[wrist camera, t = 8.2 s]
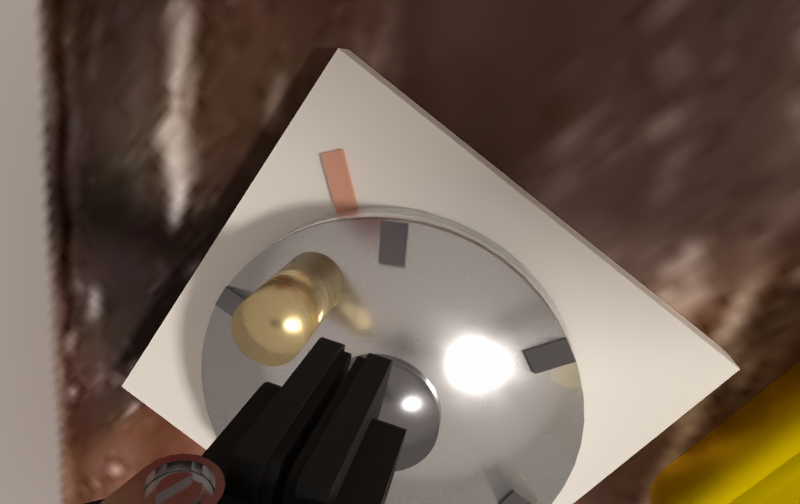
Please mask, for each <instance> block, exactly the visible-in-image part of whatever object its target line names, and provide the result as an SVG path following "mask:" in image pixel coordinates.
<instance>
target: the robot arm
mask: <svg viewBox="0 0 800 504" xmlns="http://www.w3.org/2000/svg"><path fill="white" fill-rule="evenodd" d="M351 356H352V354H351V353H348V352H345V344H342V343H339V342H336V341H333V340H330V339H327V338H324V337H320V338H319V340H318V341H317V342H316V343H315V345H314V346H313V347H312V349H311V350H310V351H309V352H308V354H307V355H306V356H305V358H304V359H303V360H302V361H301V363H300V364H299V365H298V367H297V368H296V369H295V370H294V372H293V373H292V374H291V376H290V377H289V378H288V379H287V381H286V382H285V383H284V385H283V386H279V385H276V384H273V383H270V382H264V383H263V384H262V385H261V386H260V387H259V389H258V390H257V391H256V392H255V393H254V394H253V396H252V397H251V398H250V399H249V400H248V402H247V403H246V404H245V405H244V406H243V407H242V409H241V410H240V411H239V412H238V413H237V415H236V416H235V417H234V418H233V419H232V420H231V422H230V423H229V424H228V425H227V426H226V428H225V429H224V430H223V431H222V432H221V434H220V435H219V436H218V437H217V438H216V439H215V441H214V442H213V443H212V444H211V445H210V447H209V448H208V449H207V450H206V451H205V452H204V454H203V455H202V456H199V455H192V454H177V455H170V456H167V457H164V458H161V459H158V460H156V461H154V462H153V463H151V464H149V465H148V466H146V467H145V468H144V469H142V470H141V471H140V472H139V473H137V474H136V475H135V476H134V477H132V478H131V479H130V480H128V481H127V482H126V483H125V484H123V485H122V486H121V487H120V488H118V489H117V490H116V491H115V492H113V493H112V494H111V495H110V496H108V497H107V498H106V499H102V500H98V501H94V502H90V503H85V504H385V501H386V498H387V495H388V492H389V489H390V486H391V483H392V479H393V476H394V473H395V470H396V466H397V463H398V460H399V456H400V453H401V449H402V446H403V442H404V439H405V435H406V431H407V429H404V428H401V427H398V426H395V425H392V424H390V423H387V422H384V421H381V420H378V418H379V414H380V410H381V406H382V402H383V399H384V395H385V391H386V387H387V383H388V379H389V376H390V372H391V368H392V363H393V360H391V359H388V358H385V357H381V356H378V355H375V354H372V353H369V354H368V355H367V357H366V358H363V357H360V356H358V357H357V358H356V360H355V362H354V363H353V365H352V367H351V368H350V370H349V366H350V362H351ZM348 371H349V372H348Z"/></svg>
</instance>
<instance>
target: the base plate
mask: <svg viewBox="0 0 800 504" xmlns="http://www.w3.org/2000/svg"><path fill="white" fill-rule="evenodd" d="M374 207H387V208H404V209H410V210H415V211H421V212H426V213H431V214H434V215H437V216H440V217H443V218H447V219H450V220H453V221H456V222H458V223H460V224H462V225H464V226H467V227H469V228H471V229H473V230H475V231H477V232H479V233H481V234H483V235H484V236H486V237H487V238H489V239H491V240H492V241H494V242H495V243H497V244H498V245H500V246H502V247H503V248H504V249H505V250H507V251H508V252H509V253H510V254H511V255H513V256H514V257H515V258H516V259H517V260H519V261H520V262H521V263H522V264H523V265H524V266H525V267H526V268H527V269H528V270H529V271H530V272H531V273H532V274H533V276H534V277H535V278H536V279H537V280H538V281H539V282H540V283H541V285H542V286H543V287H544V289H545V290H546V292H547V293H548V295H549V296H550V297H551V299H552V300H553V302H554V303H555V305H556V307H557V309H558V311H559V313H560V315H561V317H562V319H563V321H564V323H565V325H566V327H567V330H568V333H569V336H570V339H571V342H572V345H573V348H574V352H575V356H576V361H577V365H578V369H579V374H580V379H581V385H582V390H583V396H584V427H583V434H582V442H581V446H580V450H579V453H578V456H577V459H576V463H575V466H574V468H573V470H572V472H571V474H570V476H569V478H568V480H567V482H566V484H565V486H564V487H563V489H562V490H561V492H560V493H559V494H558V496H557V497H556V499H555V500H554V502H553V503H552V504H573V503H574V502H576V501H577V500H578V499H579V498H581V497H582V496H583V495H584V494H586V493H587V492H588V491H589V490H591V489H592V488H593V487H594V486H596V485H597V484H598V483H599V482H601V481H602V480H603V479H604V478H606V477H607V476H608V475H609V474H610V473H612V472H613V471H614V470H615V469H617V468H618V467H619V466H620V465H622V464H623V463H624V462H625V461H627V460H628V459H629V458H630V457H632V456H633V455H634V454H635V453H637V452H638V451H639V450H640V449H642V448H643V447H644V446H645V445H647V444H648V443H649V442H650V441H652V440H653V439H654V438H655V437H657V436H658V435H659V434H660V433H662V432H663V431H664V430H665V429H666V428H668V427H669V426H670V425H671V424H673V423H674V422H675V421H676V420H678V419H679V418H680V417H681V416H683V415H684V414H685V413H686V412H688V411H689V410H690V409H691V408H693V407H694V406H695V405H696V404H698V403H699V402H700V401H701V400H703V399H704V398H705V397H706V396H708V395H709V394H710V393H711V392H713V391H714V390H715V389H716V388H718V387H719V386H720V385H721V384H722V383H724V382H725V381H726V380H727V379H729V378H730V377H731V376H732V375H734V374H735V373H736V372H737V371H739V370H740V368H739V367H738V366H737V365H736V363H735V362H734V361H733V359H732V358H731V357H730V356H729V354H728V353H727V352H726V351H725V350H724V349H723V348H722V347H720V346H719V345H718V344H717V343H715V342H714V341H713V340H712V339H710V338H709V337H708V336H707V335H705V334H704V333H703V332H702V331H700V330H699V329H698V328H697V327H695V326H694V325H693V324H692V323H690V322H689V321H688V320H687V319H685V318H684V317H683V316H682V315H680V314H679V313H678V312H677V311H675V310H674V309H673V308H672V307H670V306H669V305H668V304H666V303H665V302H664V301H663V300H661V299H660V298H659V297H658V296H656V295H655V294H654V293H653V292H651V291H650V290H649V289H648V288H646V287H645V286H644V285H643V284H641V283H640V282H639V281H638V280H636V279H635V278H634V277H633V276H631V275H630V274H629V273H628V272H626V271H625V270H624V269H623V268H621V267H620V266H619V265H618V264H616V263H615V262H614V261H613V260H611V259H610V258H609V257H608V256H606V255H605V254H604V253H603V252H601V251H600V250H599V249H598V248H596V247H595V246H594V245H593V244H591V243H590V242H589V241H588V240H586V239H585V238H584V237H583V236H581V235H580V234H579V233H578V232H576V231H575V230H574V229H573V228H571V227H570V226H569V225H568V224H566V223H565V222H564V221H563V220H561V219H560V218H559V217H558V216H556V215H555V214H554V213H553V212H551V211H550V210H549V209H548V208H546V207H545V206H544V205H543V204H541V203H540V202H539V201H538V200H536V199H535V198H534V197H533V196H531V195H530V194H529V193H528V192H526V191H525V190H524V189H523V188H521V187H520V186H519V185H518V184H516V183H515V182H514V181H513V180H511V179H510V178H509V177H508V176H506V175H505V174H504V173H503V172H501V171H500V170H499V169H498V168H496V167H495V166H494V165H493V164H491V163H490V162H489V161H488V160H486V159H485V158H484V157H483V156H481V155H480V154H479V153H478V152H476V151H475V150H474V149H473V148H471V147H470V146H469V145H468V144H466V143H465V142H464V141H463V140H461V139H460V138H459V137H458V136H456V135H455V134H454V133H453V132H451V131H450V130H449V129H448V128H446V127H445V126H444V125H443V124H441V123H440V122H439V121H438V120H436V119H435V118H434V117H433V116H431V115H430V114H429V113H428V112H426V111H425V110H424V109H423V108H421V107H420V106H419V105H418V104H416V103H415V102H414V101H413V100H411V99H410V98H409V97H408V96H406V95H405V94H404V93H403V92H401V91H400V90H399V89H398V88H396V87H395V86H394V85H393V84H391V83H390V82H389V81H388V80H386V79H385V78H384V77H383V76H381V75H380V74H379V73H378V72H376V71H375V70H374V69H373V68H371V67H370V66H369V65H368V64H366V63H365V62H364V61H363V60H361V59H360V58H359V57H358V56H356V55H355V54H354V53H353V52H351V51H350V50H348V49H341V48H338V49H337V51H336V52H335V54H334V55H333V57H332V58H331V60H330V61H329V63H328V65H327V66H326V68H325V69H324V71H323V72H322V74H321V76H320V77H319V79H318V80H317V82H316V83H315V85H314V86H313V88H312V90H311V91H310V93H309V94H308V96H307V97H306V99H305V101H304V102H303V104H302V105H301V107H300V108H299V110H298V112H297V113H296V115H295V116H294V118H293V119H292V121H291V122H290V124H289V126H288V127H287V129H286V130H285V132H284V133H283V135H282V137H281V138H280V140H279V141H278V143H277V144H276V146H275V147H274V149H273V151H272V152H271V154H270V155H269V157H268V158H267V160H266V162H265V163H264V165H263V166H262V168H261V169H260V171H259V173H258V174H257V176H256V177H255V179H254V180H253V182H252V183H251V185H250V187H249V188H248V190H247V191H246V193H245V194H244V196H243V198H242V199H241V201H240V202H239V204H238V205H237V207H236V209H235V210H234V212H233V213H232V215H231V216H230V218H229V219H228V221H227V223H226V224H225V226H224V227H223V229H222V230H221V232H220V234H219V235H218V237H217V238H216V240H215V241H214V243H213V244H212V246H211V248H210V249H209V251H208V252H207V254H206V255H205V257H204V259H203V260H202V262H201V263H200V265H199V266H198V268H197V270H196V271H195V273H194V274H193V276H192V277H191V279H190V280H189V282H188V284H187V285H186V287H185V288H184V290H183V291H182V293H181V295H180V296H179V298H178V299H177V301H176V302H175V304H174V305H173V307H172V309H171V310H170V312H169V313H168V315H167V316H166V318H165V320H164V321H163V323H162V324H161V326H160V327H159V329H158V331H157V332H156V334H155V335H154V337H153V338H152V340H151V341H150V343H149V345H148V346H147V348H146V349H145V351H144V352H143V354H142V356H141V357H140V359H139V360H138V362H137V363H136V365H135V366H134V368H133V370H132V371H131V373H130V374H129V376H128V377H127V379H126V381H125V382H124V384H123V385H122V387H123V388H124V389H126V390H127V391H128V392H130V393H131V394H132V395H134V396H135V397H136V398H138V399H139V400H140V401H142V402H143V403H144V404H146V405H147V406H148V407H150V408H151V409H152V410H154V411H155V412H156V413H158V414H159V415H160V416H162V417H163V418H164V419H166V420H167V421H168V422H170V423H171V424H172V425H174V426H175V427H176V428H178V429H179V430H181V431H182V432H183V433H185V434H186V435H187V436H189V437H190V438H191V439H193V440H194V441H195V442H197V443H198V444H199V445H201V446H202V447H203V448H205V449H206V450H207V449H208V448H209V447H210V445H211V444H212V443H213V442H214V441H215V439H216V438H217V437H216V435H215V432H214V430H213V427H212V425H211V422H210V419H209V417H208V413H207V409H206V405H205V401H204V397H203V388H202V379H201V359H202V349H203V343H204V338H205V333H206V330H207V327H208V324H209V321H210V318H211V314H212V312H213V310H214V308H215V306H216V305H215V303H216V302H217V300H218V299H219V297H220V295H221V294H222V292H223V290H224V289H225V287H226V286H228V285H229V284H230V282H231V281H232V279H233V278H234V277H235V276H236V275H237V274H238V273H239V272H240V271H241V270H242V269H243V268H244V267H245V266H246V265H247V264H248V263H249V262H250V261H251V260H252V259H253V258H255V257H256V256H257V255H259V254H260V253H261V252H263V251H264V250H265V249H267V248H268V247H269V246H271V245H272V244H274V243H275V242H276V241H278V240H279V239H280V238H282V237H283V236H285V235H286V234H287V233H289V232H291V231H293V230H294V229H296V228H298V227H300V226H302V225H304V224H306V223H308V222H310V221H313V220H315V219H318V218H321V217H324V216H326V215H329V214H333V213H338V212H342V211H347V210H352V209H360V208H374Z"/></svg>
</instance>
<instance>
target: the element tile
mask: <svg viewBox="0 0 800 504" xmlns="http://www.w3.org/2000/svg"><path fill="white" fill-rule="evenodd" d="M649 504H800V361H799V362H798V363H796V364H795V365H794V366H793V367H791V368H790V369H789V370H788V371H786V372H785V373H784V374H783V375H781V376H780V377H779V378H778V379H776V380H775V381H774V382H773V383H771V384H770V385H769V386H768V387H766V388H765V389H764V390H763V391H761V392H760V393H759V394H758V395H756V396H755V397H754V398H753V399H751V400H750V401H749V402H748V403H746V404H745V405H744V406H743V407H741V408H740V409H739V410H738V411H736V412H735V413H734V414H733V415H731V416H730V417H729V418H728V419H726V420H725V421H724V422H723V423H721V424H720V425H719V426H718V427H716V428H715V429H714V430H713V431H711V432H710V433H709V434H708V435H706V436H705V437H704V438H703V439H701V440H700V441H699V442H698V443H696V444H695V445H694V446H693V447H691V448H690V449H689V450H688V451H686V452H685V453H684V454H683V455H681V456H680V457H679V458H678V459H676V460H675V461H674V462H673V463H671V464H670V465H669V466H668V467H666V468H665V469H664V470H663V471H662V472H661V473H660V474H659V475H658V476H657V477H656V479H655V480H654V482H653V484H652V486H651V488H650V490H649Z"/></svg>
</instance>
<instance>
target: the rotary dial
mask: <svg viewBox="0 0 800 504" xmlns="http://www.w3.org/2000/svg"><path fill="white" fill-rule="evenodd" d="M215 305H216V306H215V308H214V310H213V312H212V314H211V318H210V321H209V324H208V327H207V330H206V333H205V338H204V343H203V349H202V359H201V379H202V388H203V397H204V401H205V405H206V409H207V413H208V417H209V419H210V422H211V425H212V427H213V430H214V432H215V435H216V437H218V436H219V435H220V434H221V432H222V431H223V430H224V429H225V428H226V426H227V425H228V424H229V423H230V422H231V420H232V419H233V418H234V417H235V416H236V415H237V413H238V412H239V411H240V410H241V409H242V407H243V406H244V405H245V404H246V403H247V402H248V400H249V399H250V398H251V397H252V396H253V394H254V393H255V392H256V391H257V390H258V389H259V387H260V386H261V385H262V384H263V383H264V382H270V383H273V384H276V385H279V386H283V385H284V383H285V382H286V381H287V379H288V378H289V377H290V376H291V374H292V373H293V372H294V370H295V369H296V368H297V367H298V365H299V364H300V363H301V361H302V360H303V359H304V358H305V356H306V355H307V354H308V352H309V351H310V350H311V349H312V347H313V346H314V345H315V343H316V342H317V341H318V340H319V338H320V337H324V338H327V339H330V340H333V341H336V342H339V343H342V344H345V352H348V353H351V354H352V356H351V362H350V366H349V370H350V368H351V367H352V365H353V363H354V362H355V360H356V358H357V357H358V356H360V357H363V358H366V357H367V355H368V354H369V353H372V354H375V355H378V356H381V357H385V358H388V359H391V360H393V363H392V368H391V372H390V376H389V379H388V383H387V387H386V391H385V395H384V399H383V402H382V406H381V410H380V414H379V418H378V420H381V421H384V422H387V423H390V424H392V425H395V426H398V427H401V428H404V429H407V431H406V435H405V439H404V442H403V446H402V449H401V453H400V456H399V460H398V463H397V466H396V470H395V473H394V476H393V479H392V483H391V486H390V489H389V492H388V495H387V498H386V501H385V504H552V503H553V502H554V500H555V499H556V497H557V496H558V494H559V493H560V492H561V490H562V489H563V487H564V486H565V484H566V482H567V480H568V478H569V476H570V474H571V472H572V470H573V468H574V466H575V463H576V459H577V456H578V453H579V450H580V446H581V442H582V434H583V427H584V396H583V390H582V385H581V379H580V374H579V369H578V365H577V361H576V356H575V352H574V348H573V345H572V342H571V339H570V336H569V333H568V330H567V327H566V325H565V323H564V321H563V319H562V317H561V315H560V313H559V311H558V309H557V307H556V305H555V303H554V302H553V300H552V299H551V297H550V296H549V295H548V293H547V292H546V290H545V289H544V287H543V286H542V285H541V283H540V282H539V281H538V280H537V279H536V278H535V277H534V276H533V274H532V273H531V272H530V271H529V270H528V269H527V268H526V267H525V266H524V265H523V264H522V263H521V262H520V261H519V260H517V259H516V258H515V257H514V256H513V255H511V254H510V253H509V252H508V251H507V250H505V249H504V248H503V247H502V246H500V245H498V244H497V243H495V242H494V241H492V240H491V239H489V238H487V237H486V236H484V235H483V234H481V233H479V232H477V231H475V230H473V229H471V228H469V227H467V226H464V225H462V224H460V223H458V222H456V221H453V220H450V219H447V218H443V217H440V216H437V215H434V214H431V213H426V212H421V211H415V210H410V209H404V208H387V207H374V208H360V209H352V210H347V211H342V212H338V213H333V214H329V215H326V216H324V217H321V218H318V219H315V220H313V221H310V222H308V223H306V224H304V225H302V226H300V227H298V228H296V229H294V230H293V231H291V232H289V233H287V234H286V235H285V236H283V237H282V238H280V239H279V240H278V241H276V242H275V243H274V244H272V245H271V246H269V247H268V248H267V249H265V250H264V251H263V252H261V253H260V254H259V255H257V256H256V257H255V258H253V259H252V260H251V261H250V262H249V263H248V264H247V265H246V266H245V267H244V268H243V269H242V270H241V271H240V272H239V273H238V274H237V275H236V276H235V277H234V278H233V279H232V281H231V282H230V284H229V285H228V286H226V287H225V289H224V290H223V292H222V294H221V295H220V297H219V299H218V300H217V302H216V303H215ZM348 372H349V371H348Z"/></svg>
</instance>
